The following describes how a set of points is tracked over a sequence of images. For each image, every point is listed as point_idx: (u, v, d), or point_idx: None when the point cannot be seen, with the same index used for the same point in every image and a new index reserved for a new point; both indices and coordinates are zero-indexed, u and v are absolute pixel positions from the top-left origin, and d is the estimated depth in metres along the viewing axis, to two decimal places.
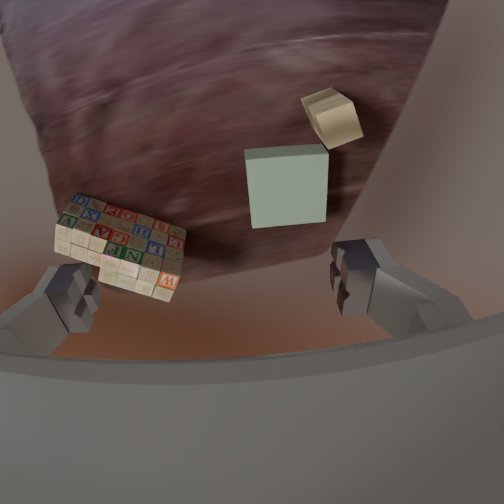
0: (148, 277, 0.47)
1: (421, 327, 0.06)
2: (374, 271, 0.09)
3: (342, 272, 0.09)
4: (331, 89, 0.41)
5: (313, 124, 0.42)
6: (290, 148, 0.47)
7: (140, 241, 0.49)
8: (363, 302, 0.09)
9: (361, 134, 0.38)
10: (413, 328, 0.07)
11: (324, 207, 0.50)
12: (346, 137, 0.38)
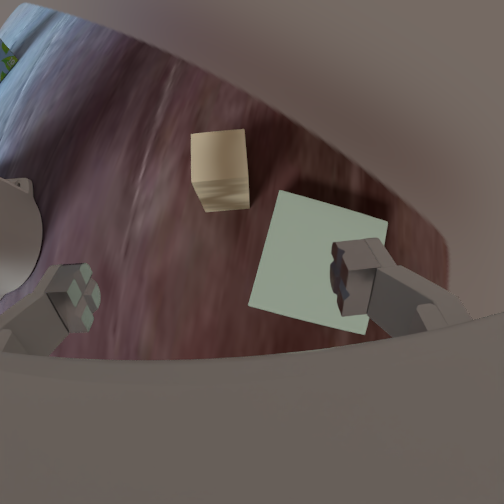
0: None
1: (421, 327, 0.06)
2: (374, 271, 0.09)
3: (342, 272, 0.09)
4: None
5: (233, 200, 0.34)
6: None
7: None
8: (363, 302, 0.09)
9: (240, 130, 0.29)
10: (413, 328, 0.07)
11: (364, 217, 0.32)
12: (237, 150, 0.28)
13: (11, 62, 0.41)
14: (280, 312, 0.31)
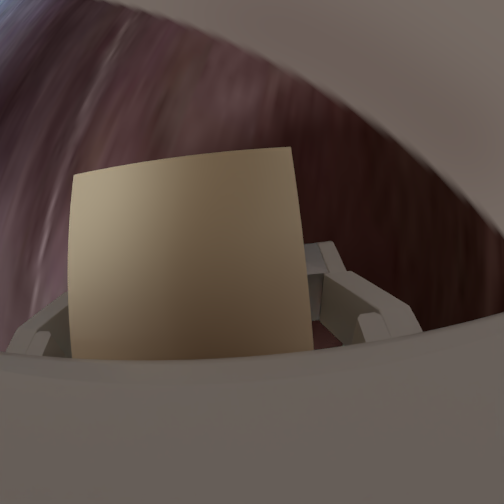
0: None
1: (361, 338, 0.06)
2: (323, 277, 0.09)
3: None
4: None
5: None
6: None
7: None
8: (314, 308, 0.09)
9: (274, 155, 0.07)
10: (355, 338, 0.07)
11: None
12: (264, 253, 0.06)
13: None
14: None
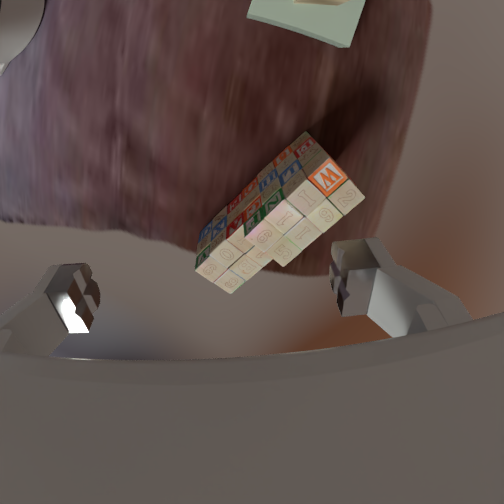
0: (309, 199, 0.32)
1: (421, 327, 0.06)
2: (374, 271, 0.09)
3: (342, 272, 0.09)
4: None
5: (331, 0, 0.25)
6: None
7: (271, 186, 0.37)
8: (363, 302, 0.09)
9: None
10: (413, 328, 0.07)
11: None
12: None
13: None
14: (276, 19, 0.28)
